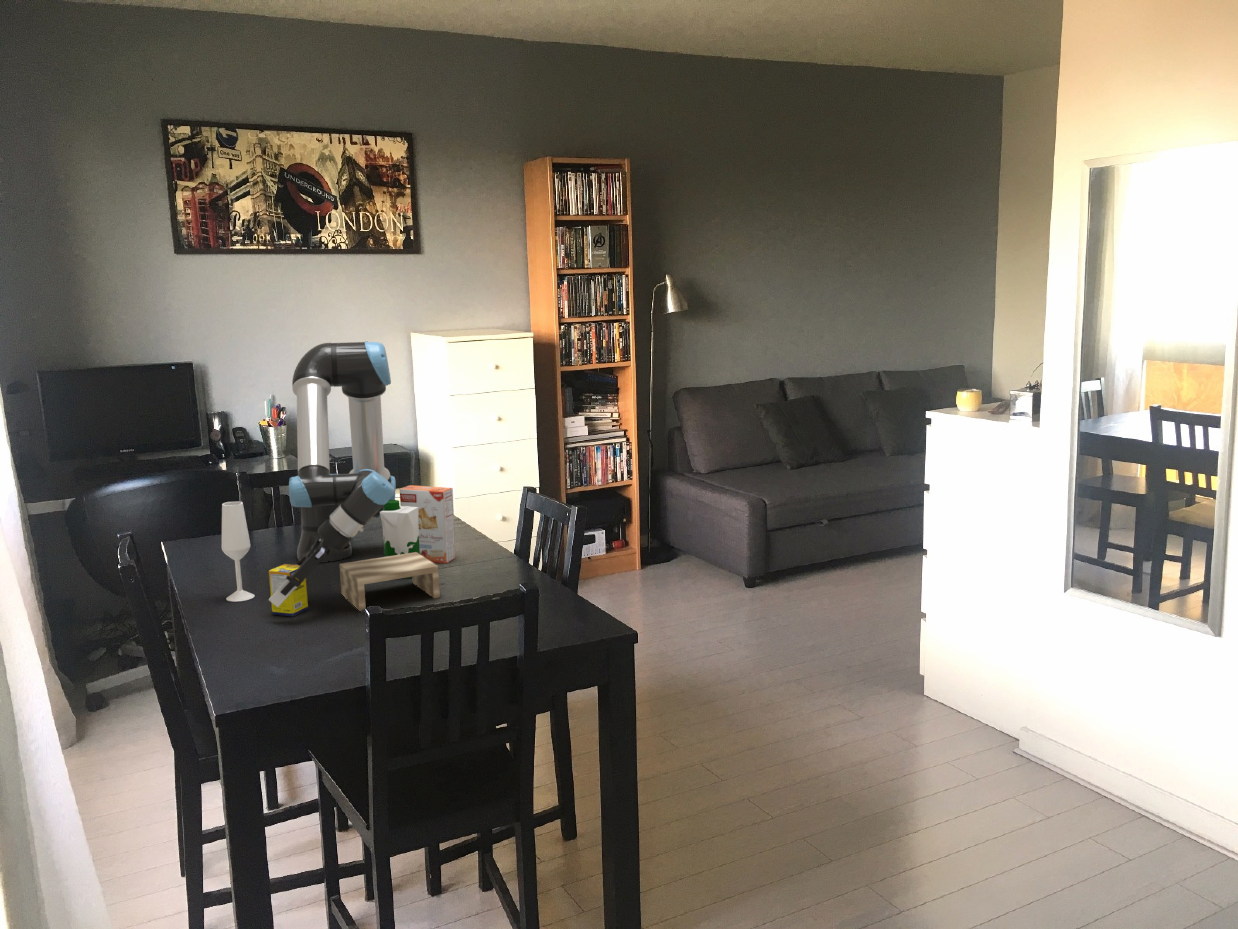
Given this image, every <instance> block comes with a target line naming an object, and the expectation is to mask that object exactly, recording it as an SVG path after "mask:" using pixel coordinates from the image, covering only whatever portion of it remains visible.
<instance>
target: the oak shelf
mask: <svg viewBox="0 0 1238 929" xmlns="http://www.w3.org/2000/svg"><path fill="white" fill-rule="evenodd" d="M338 567H339V579H340V580H339V581H340V591H341V592H340V593H341V594H342V595H343V596H344V597H345V598H344V597H343V596H342V595H341V594H340V595H341V596H342V597H343V598H344V599H345V600H347V599H348V600H347V601H348V602H349V603H350V602H351V603H352V604H353V605H354V606H355V607H356V608H357V609H358V610H359V611H361V610H362V609H365V608H366V607H367V606H366V597H365V596H366V591H365V585H368V584H369V585H370V584H374V583H380V582H385V581H387V582H388V581H391V580H392V581H393V580H398V579H399V580H400V579H407V578H406V577H411V580H412V581H411V582H413V583H412V584H413V585H415V586H416V585H417V586H416V587H418V588H419V589H421V590H422V591H423V592H424V591H425V594H428V595H429V596H430V597H431V596H432V597H431V598H433V599H438V598H440V574H439V573H440V572H439V565H437V563H434V562H431V561H429V560H428V559H426V558H425V557H423V556H422V555H420V554H419V553H417V552H414V553H408V554H401V555H394V556H388V557H384V556H383V557H377V558H369V559H362V560H357V561H350V562H343V563H339V566H338ZM351 603H350V604H351ZM352 604H351V605H352ZM353 605H352V606H353ZM354 606H353V607H354ZM355 607H354V608H355ZM356 608H355V609H356ZM357 609H356V610H357ZM358 610H357V611H358ZM359 611H358V612H359ZM361 612H362V611H361Z"/></svg>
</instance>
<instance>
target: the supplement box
mask: <svg viewBox="0 0 1238 929" xmlns="http://www.w3.org/2000/svg"><path fill="white" fill-rule="evenodd" d="M299 567H300V566H299V565H298V564H296V565H295V564H287V563H284V564H282V565H281V564H280V565H279V566H276V567H273V568H272V569H270V570H268V578H269V588H270V589H269V591H270V597H271V596H272V595H273V594H274V593H275V592H276V591H277V590H278V589H279V588H280V587H281V586H282V585H283V584H284V582H285V581H286V580H287V579H286V577H287V576H289V577H291V576H292V575H293V574H294V573H295V571H296V570H297V569H298V568H299ZM296 579H297V578H296ZM297 580H298V579H297ZM298 581H299V580H298ZM307 588H308V587H307V577H306V578H305V579H304V581H303V582H302V583H301V584H300V586H299V587H296V588H295V589H294V591H293V592H292V593H291V594H290V595H289V596H288V597H287V598H286V599H285V600H284V601H283V602H282V603H281V604H280V605H279V607H277V606H276V605H274V604H273V603H272V602H270V603H271V613H272V615H275V616H285V617H295V616H297V615H299V614H302V613H303V612H306V611H307V610H308V609H309V604H308V591H307Z"/></svg>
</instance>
